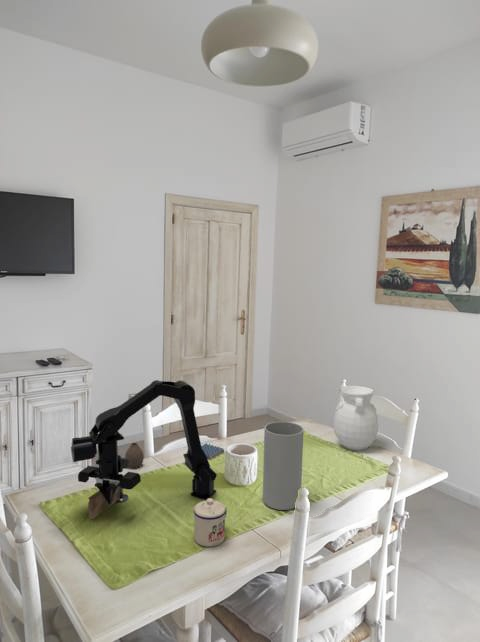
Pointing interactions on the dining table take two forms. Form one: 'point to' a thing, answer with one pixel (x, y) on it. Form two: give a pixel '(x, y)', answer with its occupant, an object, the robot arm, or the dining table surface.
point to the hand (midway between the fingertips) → (110, 503)
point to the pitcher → (356, 418)
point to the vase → (134, 455)
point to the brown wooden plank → (100, 503)
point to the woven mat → (211, 451)
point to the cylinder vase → (282, 464)
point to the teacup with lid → (209, 523)
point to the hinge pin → (122, 496)
